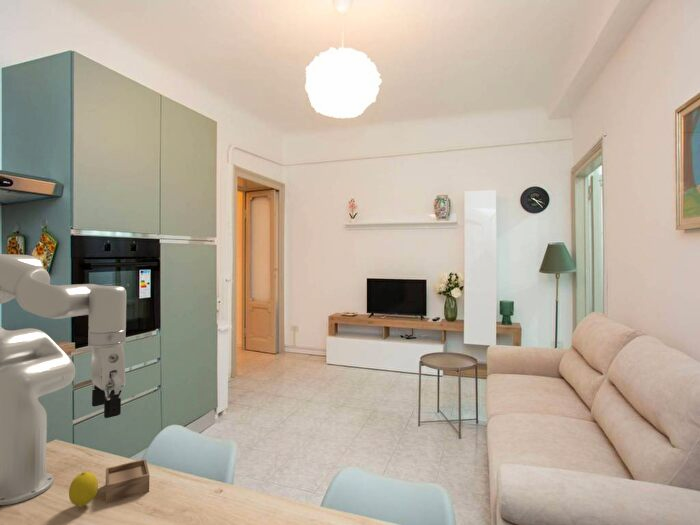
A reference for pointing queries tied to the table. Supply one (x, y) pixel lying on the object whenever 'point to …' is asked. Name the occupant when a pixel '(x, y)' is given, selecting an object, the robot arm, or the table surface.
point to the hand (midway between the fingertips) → (105, 410)
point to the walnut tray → (126, 480)
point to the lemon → (83, 489)
